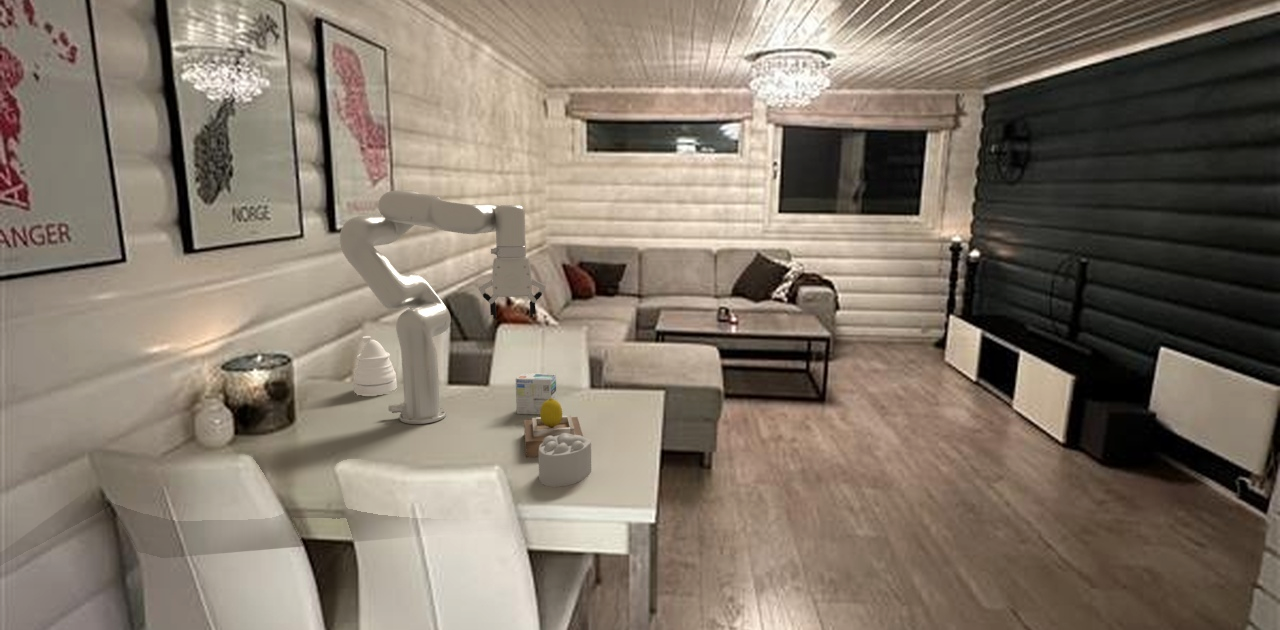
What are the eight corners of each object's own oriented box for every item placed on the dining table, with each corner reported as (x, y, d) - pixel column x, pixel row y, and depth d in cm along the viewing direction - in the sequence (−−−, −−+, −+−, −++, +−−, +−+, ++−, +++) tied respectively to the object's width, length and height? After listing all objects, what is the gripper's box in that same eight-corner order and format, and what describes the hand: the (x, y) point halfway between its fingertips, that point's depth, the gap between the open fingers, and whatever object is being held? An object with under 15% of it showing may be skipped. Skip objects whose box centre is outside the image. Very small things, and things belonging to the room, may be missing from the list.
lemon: (566, 426, 177) (565, 396, 176) (556, 433, 172) (556, 402, 170) (546, 423, 179) (545, 394, 177) (536, 430, 174) (535, 400, 172)
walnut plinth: (526, 457, 167) (525, 435, 166) (524, 434, 182) (524, 414, 181) (583, 453, 170) (583, 432, 169) (577, 431, 185) (577, 411, 184)
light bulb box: (557, 408, 204) (556, 373, 202) (552, 415, 198) (551, 379, 196) (522, 407, 205) (521, 372, 203) (515, 414, 199) (514, 378, 197)
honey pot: (371, 399, 213) (367, 342, 209) (345, 392, 220) (341, 337, 216) (405, 389, 223) (402, 334, 220) (380, 383, 230) (376, 330, 227)
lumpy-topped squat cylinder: (597, 468, 161) (596, 433, 159) (568, 490, 149) (567, 452, 147) (558, 461, 165) (558, 426, 163) (527, 482, 153) (526, 445, 152)
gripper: (476, 254, 175) (479, 321, 178) (545, 253, 178) (546, 318, 181) (477, 252, 182) (480, 315, 185) (543, 251, 185) (545, 313, 189)
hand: (513, 317), depth 183 cm, fingers open, 9 cm apart
